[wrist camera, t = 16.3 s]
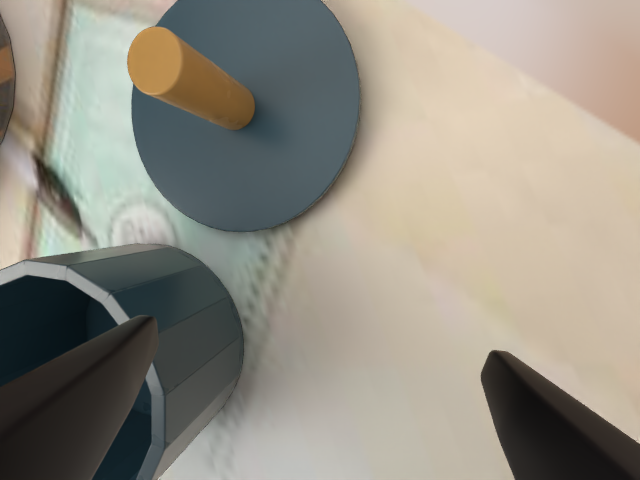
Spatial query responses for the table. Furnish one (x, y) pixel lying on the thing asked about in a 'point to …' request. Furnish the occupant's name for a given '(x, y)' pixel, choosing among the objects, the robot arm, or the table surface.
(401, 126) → the table surface
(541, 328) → the table surface
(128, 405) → the robot arm
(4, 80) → the cage light
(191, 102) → the lid
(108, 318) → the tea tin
